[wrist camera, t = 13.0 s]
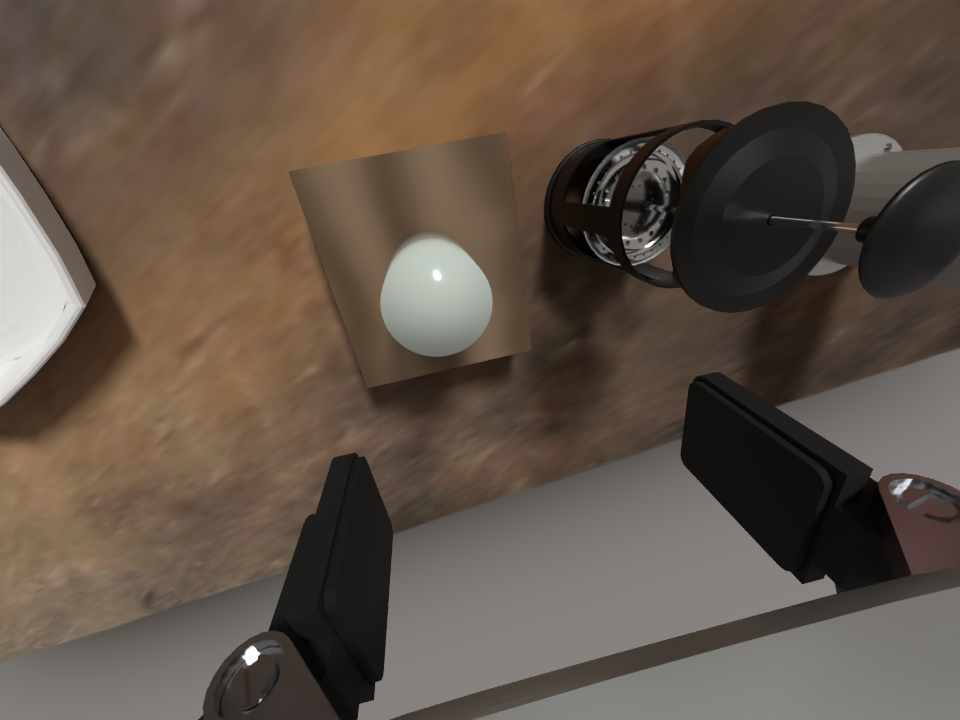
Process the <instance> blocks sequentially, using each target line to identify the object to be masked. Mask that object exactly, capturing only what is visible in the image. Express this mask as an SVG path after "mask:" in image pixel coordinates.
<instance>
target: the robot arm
mask: <svg viewBox="0 0 960 720" xmlns="http://www.w3.org/2000/svg"><path fill="white" fill-rule="evenodd" d="M850 137H851V140H852V142H853V145H854V152H855V159H856V173H855V185H854V189H853V194H852V198H851V203H850V206H849V208H848V211H847V214H846V216H845V219H844V222H850V223H861V222H862V221H863V220H865V219H866V218H868V217H870V216H878V214H879V213H880V212H881V210H882V209H883V207H884V206H885V205H886V204H887V202H888V201H889V200H890V199H891V198H892V197H893V196H894V195H895V193H896V192H897V191H899V190H900V189H901V188H902V187H903V186H904V185H905V184H906V183H908V182H909V181H910V180H911V179H913V178H914V177H916V176H917V175H919V174H920V173H921V172H923V171H925V170H927V169H929V168H931V167H933V166H935V165H937V164H940V163H944V162H947V161H952V160H960V147H958V148H943V149H927V150H912V151H902V148H901V147H900V146H899V144H898V143H897V142H896V141H895V140H894V139H892V138H891V137H889V136H887V135H884V134H879V133H870V134H859V135H854V136H850ZM862 245H863V243H860V242H857V241H856V239H855V234H853V233H844V232H838V234H837V235H836V237H835V239H834V241H833V243H832V244H831V246H830V247H829V249H828V250H827V252H826V253H825V254H824V256H823V257H822V259H821V260H820V261H819V262H818V263H817V265H816V266H815V267H814V268H813V269H812V270H811V271H810V273H809V274H808V275H811V276H820V275H826V274H830V273H833V272H836V271H838V270H840V269H843V268H844V267H846V266H853V267H859V257H860V253H861V249H862ZM933 282H938V283H943V284H948V285H954V286H959V287H960V256H959V257H958V258H957V260H956V261H955V262H954V263H953V264H952V265H951V266H950V267H949V268H948V269H947V270H946V271H945V272H944V273H943V274H941V275H940V276H939V277H938V278H936V279H935V280H934V281H933ZM681 459H682V461H683V464H684V465H685V466H686V468H687V469H688V470H689V471H690V472H691V473H692V474H693V475H694V476H695V477H696V478H697V479H698V480H699V481H700V482H701V483H702V485H703V486H704V487H706V489H707V490H708V491H709V492H710V493H711V494H712V495H713V496H714V497H715V498H716V499H717V500H718V501H719V502H720V504H721V505H722V506H723V507H724V508H725V509H726V510H727V511H728V512H729V513H730V514H731V515H732V516H733V517H734V518H735V519H736V520H737V522H738V523H739V524H740V525H741V526H742V527H743V528H744V529H745V530H746V531H747V532H748V533H749V534H750V535H751V537H752V538H754V540H755V541H756V542H757V543H758V544H759V545H760V546H761V547H762V548H763V549H764V550H765V551H766V552H767V553H768V555H769V556H770V557H772V559H773V560H774V561H775V562H776V563H777V564H778V565H779V566H780V567H781V568H783V569H784V570H786V571H790V572H791V573H792V574H793V575H794V576H795V577H796V578H797V579H798V580H799V581H800V582H801V583H802V584H805V583H808V582H812V581H816V580H820V579H823V578H824V576H825V574H826V575H827V576H828V577H829V578H830V579H831V580H832V581H833V582H834V583H835V587H836V592H837V594H834V595H830V596H827V597H823V598H819V599H815V600H812V601H808V602H804V603H800V604H797V605H793V606H790V607H786V608H782V609H778V610H774V611H771V612H767V613H763V614H759V615H756V616H752V617H748V618H745V619H741V620H737V621H733V622H730V623H726V624H722V625H719V626H715V627H711V628H708V629H704V630H700V631H697V632H693V633H689V634H686V635H682V636H678V637H675V638H671V639H667V640H664V641H660V642H656V643H653V644H649V645H646V646H642V647H638V648H635V649H631V650H627V651H624V652H620V653H616V654H613V655H609V656H605V657H602V658H598V659H595V660H591V661H588V662H584V663H581V664H577V665H573V666H570V667H566V668H562V669H559V670H555V671H552V672H549V673H545V674H541V675H537V676H534V677H530V678H527V679H523V680H520V681H517V682H512V683H509V684H506V685H502V686H498V687H495V688H491V689H488V690H484V691H481V692H477V693H474V694H471V695H467V696H464V697H461V698H457V699H454V700H451V701H447V702H445V703H441V704H437V705H434V706H431V707H428V708H424V709H421V710H418V711H415V712H411V713H408V714H405V715H402V716H400V717H397V718H394V719H391V720H960V491H959V490H957V489H955V488H953V487H951V486H949V485H947V484H944V483H942V482H939V481H936V480H934V479H930V478H926V477H923V476H919V475H913V474H905V473H898V474H889V475H886V476H883V477H882V478H881V479H880V481H879V482H876V481H874V480H873V479H872V478H870V475H871V473H872V471H873V469H872V468H870V467H869V466H867V465H866V464H864V463H863V462H861V461H859V460H858V459H856V458H855V457H853V456H852V455H850V454H848V453H847V452H845V451H844V450H842V449H840V448H839V447H837V446H836V445H834V444H833V443H831V442H829V441H828V440H826V439H825V438H823V437H821V436H820V435H818V434H817V433H815V432H814V431H812V430H810V429H808V428H807V427H805V426H804V425H802V424H801V423H799V422H798V421H796V420H794V419H793V418H791V417H789V416H788V415H787V414H785V413H783V412H782V411H780V410H779V409H777V408H775V407H774V406H772V405H771V404H769V403H767V402H766V401H764V400H763V399H761V398H760V397H758V396H756V395H755V394H753V393H752V392H750V391H748V390H747V389H745V388H744V387H742V386H741V385H739V384H737V383H736V382H734V381H733V380H731V379H729V378H728V377H726V376H725V375H723V374H721V373H719V372H715V373H710V374H706V375H701V376H697V377H695V379H694V380H693V383H691V384H690V385H689V390H688V398H687V406H686V414H685V422H684V430H683V438H682V446H681ZM392 541H393V530H392V524H391V521H390V519H389V516H388V514H387V511H386V509H385V506H384V503H383V501H382V498H381V496H380V493H379V491H378V488H377V486H376V483H375V480H374V478H373V475H372V473H371V470H370V468H369V465H368V463H367V460H366V458H365V457H358V455H357V454H356V453H352V454H347V455H343V456H338V457H334V458H333V460H332V462H331V465H330V469H329V472H328V475H327V478H326V482H325V485H324V488H323V492H322V495H321V498H320V501H319V505H318V508H317V511H316V514H312V515H309V516H308V517H307V518H306V520H305V523H304V525H303V528H302V531H301V534H300V537H299V540H298V543H297V546H296V549H295V552H294V555H293V558H292V561H291V564H290V567H289V570H288V574H287V577H286V580H285V583H284V586H283V589H282V592H281V595H280V598H279V601H278V604H277V607H276V610H275V613H274V616H273V619H272V622H271V625H270V628H269V631H268V632H262V633H260V634H258V635H256V636H254V637H251V638H249V639H248V640H247V641H245V642H244V643H243V644H241V645H240V646H239V647H237V648H236V649H235V650H234V651H233V652H232V654H230V655H229V656H228V657H227V658H226V659H225V660H224V662H223V663H222V665H221V666H220V668H219V669H218V670H217V672H216V673H215V675H214V676H213V679H212V681H211V683H210V685H209V687H208V689H207V691H206V695H205V699H204V704H203V716H202V717H201V718H200V719H199V720H357V719H358V710H359V704H360V703H364V702H368V701H372V700H374V692H375V682H377V681H380V680H382V677H383V671H384V659H385V645H386V629H387V615H388V601H389V584H390V571H391V557H392Z"/></svg>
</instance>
